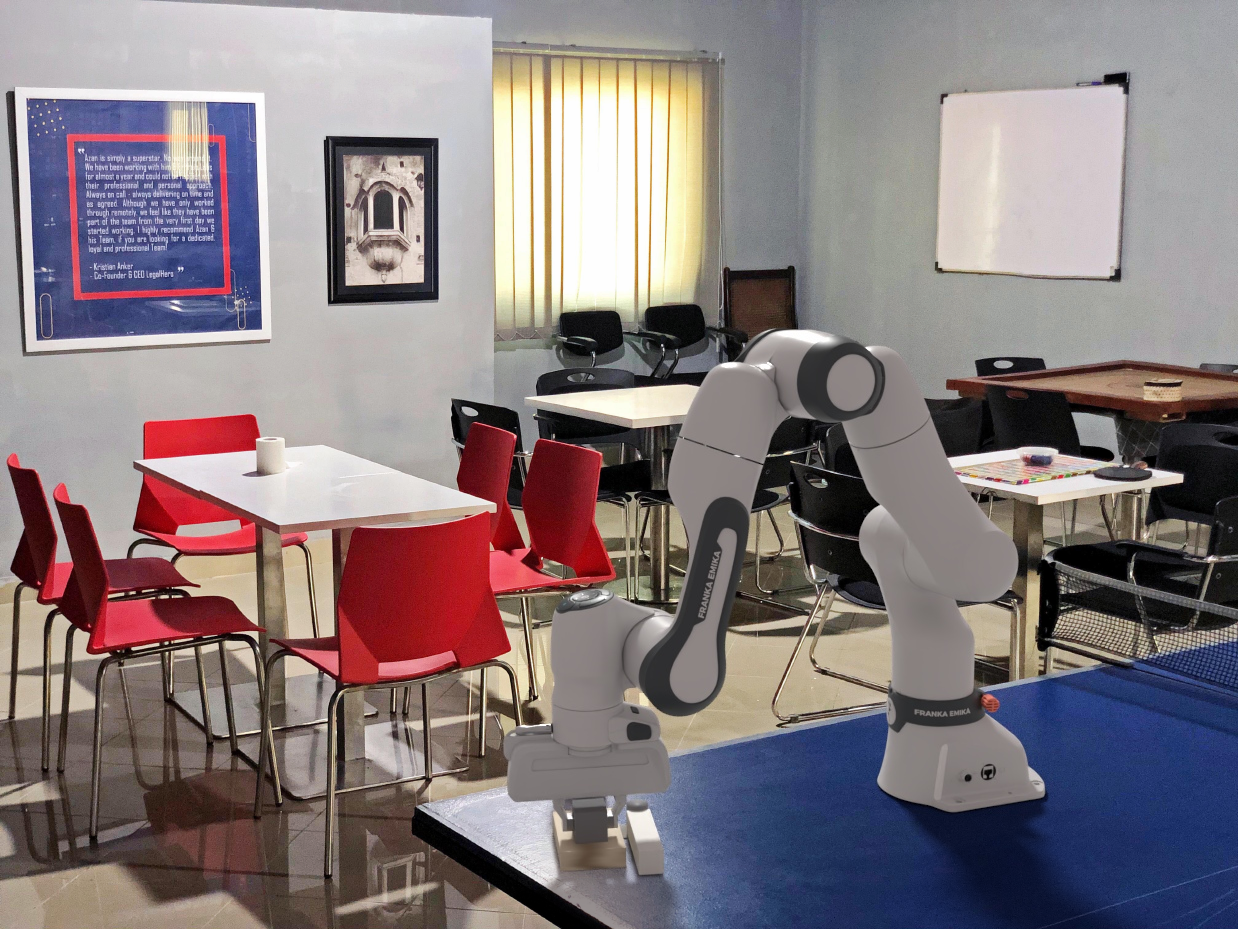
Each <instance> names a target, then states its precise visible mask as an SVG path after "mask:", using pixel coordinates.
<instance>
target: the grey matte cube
mask: <svg viewBox="0 0 1238 929" xmlns="http://www.w3.org/2000/svg"><path fill="white" fill-rule="evenodd" d="M607 808H608V807H607V805H606V802H605V799H604V797H595V798H580V799H571V810H572V813H573V816H574V831H573V835H574V839H575V844H583V843H597V842H608V818H607Z"/></svg>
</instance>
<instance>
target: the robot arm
mask: <svg viewBox="0 0 1238 929" xmlns="http://www.w3.org/2000/svg"><path fill="white" fill-rule="evenodd" d="M788 417H793V418H797V419H809V420H817V421H820V422H823V423H830V424H831V423H834V424H835V423H836V424H837V423H842V427H843V429H844V433H845V436H846V439H847V441H848V443H849V446H850V449H851V451H852V454H853V456H854V460H855V462H856V465H857V466H858V470H859V472H860V475H861V477H862V480H863V482H864V484H865V487H866V489H867V491H868V493H869V494H870V496H871V497H872V498H873V499H874V500H875V501H876V503H878V504H879V505H878V506H876V507H874V508H873V509H872V510H870V512H868V514H867V515H866V517H864V520H863V522H862V524H861V526H860V529H859V534H858V543H859V544H858V545H859V549H860V554H861V556H862V557H863V559H864V560H865V561H866V563H867V564H868V565H869V567H870V569H872V572H873V573H874V576H875V578H876V580H877V583H878V585H879V587H880V588H879V589H880V591H881V595H882V597H883V598H882V599H883V603H884V605H885V608H886V609H885V610H886V612H887V613H886V614H887V617H888V622H889V629H890V638H891V639H890V642H891V645H890V646H891V649H890V650H891V677H890V678H891V682H890V683H889V684H888V688H887V699H886V720H887V725H888V729H887V730H888V731H887V732H888V733H887V738H886V740H887V741H886V746H885V751H884V756H883V760H882V764H881V767H880V771H879V774H878V777H877V779H876V780H877V781H876V782H877V785H878V786H879V787H880V789H882V790H883V791H884V792H886V793H887V794H889V795H891V796H893V797H895V798H898V799H900V800H904V801H908V802H911V803H916V804H921V805H925V806H927V805H928V806H931V807H934V808H937V809H938V810H942V811H944V812H949V813H958V812H965V811H970V810H975V809H981V808H987V807H993V806H994V807H995V806H1001V805H1006V804H1013V803H1018V802H1025V801H1029V800H1030V801H1031V800H1036V799H1041V798H1044V797H1045V794H1046V788H1045V786H1046V785H1045V782H1044V780H1043V779H1042V777H1041V776H1040V775H1039V773H1037V772H1036V771H1035V770H1034V769H1033V768H1031V767H1030V766H1029V764H1028V763H1029V762H1028V758H1027V753H1026V750H1025V748H1024V746H1023V744H1022V742H1021V741H1020V739H1018V737H1017V736H1016V735H1015V734H1013V733H1012V732H1011V731H1009V729H1007V728H1006V727H1005V726H1003V725H1002V724H1001V723H1000V722H998V721H997V720H995V719H994V718H993V717H991V716H990V715H989V714H987V712H988V713H995V712H997V711H998V709H999V708H1000V705H1001V704H1000V701H999V700H998V699H997V698H996V697H994V696H993V694H991V693H989V694H988V693H986V692H985V691H984V690H983V689H981V688H979V687H977V686H975V684H974V683H975V682H974V680H975V649H976V647H975V646H976V641H975V639H976V638H975V635H974V632H973V629H972V627H971V626H970V624H969V622H968V621H967V620H966V618H965V617H964V616H963V614H962V613H961V610H960V609H959V607H958V604H957V601H960V602H961V601H964V602H977V603H978V602H980V603H981V602H983V603H984V602H987V603H988V602H993V601H995V600H997V599H999V598H1000V597H1002V596H1003V595H1004V594H1005V593H1006V592H1007V591H1009V589H1010V588H1011V586H1012V585H1013V583H1014V581H1015V579H1016V576H1017V573H1018V568H1019V555H1018V550H1017V547H1016V544H1015V542H1014V541H1013V539H1012V538H1011V537H1010V536H1009V535H1008V534H1007V533H1006V532H1005V531H1003V530H1002V529H1000V527H999V526H998V525H996V524H995V523H994V522H993V521H992V520H991V519H990V518H989V517H988V516H987V515H986V513H985V512H984V511H983V510H982V509H981V507H980V506H979V505H978V503H977V501H976V500H975V499H974V497H972V495H971V493H970V492H969V491H968V489H967V487H966V486H965V485H964V484H963V482H962V481H961V480H960V478H959V477H958V475H957V473H956V472H955V470H954V469H953V467H952V465H951V463H950V461H949V459H948V456H947V455H946V452H945V449H944V447H943V444H942V442H941V440H940V436H939V434H938V431H937V429H936V426H935V424H934V421H933V419H932V416H931V412H930V410H929V406H928V405H927V402H926V399H925V398H924V396H923V394H922V391H921V388H920V387H919V385H918V383H917V381H916V379H915V378H914V375H913V374H912V372H911V370H910V368H909V367H908V365H907V364H906V362H905V361H904V358H902V357H901V354H899V353H898V352H897V351H896V350H895V349H892V347H891V348H890V347H888V346H885V345H869V346H864V345H863V344H862V343H860V342H858V341H857V340H855V339H853V338H850V337H847V336H844V335H836V334H833V333H829V332H826V331H821V330H815V329H790V328H787V327H786V328H785V327H779V328H772V329H768V330H764V331H762V332H761V333H758V334H757V335H755V336H753V337H752V338H751V339H750V340H749V341H748V342H747V343H746V344H745V346H743V349H742V350H741V352H740V354H739V355H738V356H737V358H736V359H735V358H734V360H733V361H730V362H729V361H727V362H723V363H719V364H717V365H715V366H714V367H713V368H711V369H710V370H709V371H708V373H707V374H706V376H705V377H704V379H703V381H702V382H701V385H700V386H699V388H698V390H697V392H696V394H695V396H694V397H693V400H692V402H691V404H690V406H689V409H688V410H687V414H685V418H684V420H683V422H682V425H681V428H680V430H679V434H678V436H679V437H677V440H676V443H675V446H674V449H673V452H672V456H671V458H670V459H671V460H670V463H669V470H668V477H667V490H668V494H669V496H670V499H671V502H672V503H673V505H674V507H675V509H676V510H677V512H678V514H679V515H680V518H681V520H682V522H683V524H684V527H685V531H686V533H687V537H688V541H689V542H688V544H689V556H688V563H687V567H686V571H685V574H684V575H685V576H684V579H683V583H682V587H681V590H680V595H679V598H678V602H677V607H676V610H675V615H674V616H673V615H672V614H671V613H669V612H667V611H664V610H662V609H659V608H656V607H648V606H642V605H639V604H636V603H633V602H631V601H628V600H625V599H624V598H622V597H621V596H618V595H617V594H616V593H615V592H613V591H612V590H609V589H607V588H606V589H605V588H589V589H588V588H587V589H584V590H579V591H575V592H573V593H571V594H569V595H566V596H565V597H564V598H563V599H561V600H560V601H559V602H558V603H557V605H556V607H555V609H554V612H553V614H552V615H553V616H552V622H551V628H550V629H551V630H550V631H551V632H550V634H551V635H550V659H549V660H550V669H551V673H552V677H553V681H554V682H553V688H552V693H551V698H550V699H551V700H550V701H551V723H543V724H534V725H518V726H515V727H514V729H512V730H510V731H508V732H507V733H506V734H505V735H504V737H503V742H502V743H503V746H502V747H503V748H502V749H503V756H504V758H505V759H506V760H507V762H508V763H507V773H506V776H507V779H506V780H507V781H506V786H507V788H506V790H507V795H508V797H509V798H510V799H511V800H512V801H513V802H514V803H524V802H525V803H528V802H541V801H543V802H544V801H551V803H552V806H553V809H554V811H556V812H557V813H558V815H559V816H560V818H561V819H562V831H563V832H567V831H574V816H573V813H566V811H567V810H565V808H564V807H565V806H566V804H565V800H570V799H571V800H574V799H589V798H604V797H613V798H614V803H613V806H612V807H611V808H612V809H611V810H608V811H607V818H608V829H611V828H618V823H619V816H620V814H621V813H622V811H623V809H624V808H625V807H626V803H627V802H628V801H627V800H628V799H627V796H630V795H643V794H644V795H648V794H662V793H666V792H667V791H668V789H669V788H670V786H671V785H672V773H671V772H672V771H671V764H670V758H669V754H668V749H667V747H666V745H665V741H664V740H663V738H662V736H661V732H662V731H661V724H660V720H659V717H658V716H657V714H656V713H655V711H654V710H653V709H652V708H651V707H649V706H645V705H641V704H636V703H633V702H630V701H625V700H624V694H625V692H626V691H627V690H629V689H636V688H637V689H638V690H639V691H641V692H642V693H643V695H644V696H645V697H646V698H647V699H648V701H649V702H650V704H652V706H653V707H654V708H655V709H656V710H657V711H659V712H660V713H662V714H665V715H667V716H669V717H677V718H678V717H680V718H681V717H688V716H692V715H695V714H698V713H699V712H702V711H703V710H704V709H706V708H707V707H708V706H710V705H712V703H713V702H714V701H715V700H716V699H717V697H718V696H719V695H720V692H721V690H722V688H723V687H724V683H725V680H726V676H727V675H726V674H727V655H726V654H727V652H726V639H727V631H728V627H729V622H730V618H731V614H732V610H733V607H734V602H735V598H736V594H737V590H738V586H739V582H740V578H741V574H742V569H743V566H744V560H745V556H746V552H747V547H748V540H749V532H750V525H751V524H750V523H751V522H750V521H751V513H752V506H753V502H754V499H755V495H756V490H757V487H758V483H759V480H760V478H761V477H760V476H761V473H762V470H763V468H764V464H765V461H766V458H767V455H768V451H769V448H770V444H771V440H772V437H773V436H774V433H775V432H776V430H777V428H779V426H780V425H781V423H782V422H783V421H785V419H787V418H788ZM759 463H760V464H759ZM762 464H763V465H762ZM986 711H987V712H986Z"/></svg>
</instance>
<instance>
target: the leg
mask: <svg viewBox="0 0 1238 929" xmlns="http://www.w3.org/2000/svg"><path fill="white" fill-rule="evenodd" d="M625 807H626V809H625V810H626V811H625V812H626V813H625V814H626V815H625V816H626V824H627V834H628V838H627V839H628V841H629V845H630V849H631V851H632V855H633V859H634V862H635V865H636V869H637V872H638V875H639V876H644V875H645V876H647V875H658V874H665V857H664V856H665V855H664V854H665V852H664V851H665V849H664V846H663V844H662V841H661V839H660V834H659V832H658V829H657V826H656V824H655V821H654V817H653V815H652V811H651V809H650V808H649V802H648V801H647V800H645V799H640V798H636V799H635V798H634V799H630V800H628V801H627V803H626V805H625Z"/></svg>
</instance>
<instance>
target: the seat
mask: <svg viewBox="0 0 1238 929" xmlns="http://www.w3.org/2000/svg"><path fill="white" fill-rule="evenodd" d="M606 808H607V811H608V810H611V809H612V807H606ZM565 811H566V813H572V809H571V810H569V809H568V810H565ZM552 831H553V836H554V841H555V847H557V848H556V851H557V857H558V862H559V867H560V871H563V872H573V871H589V870H602V869H617V868H618V869H619V868H626V867H627V846H626V843H625V839H629V838H628V834H627V823H626V824H625V823H623V824H620V823H619V822H618V828H611V829H608V842H597V843H583V844H575V839H574V835H573V831H567V832H563V831H562V819H561V818H560V816H559V815H558V813H557V812H556V810H554V811H552Z"/></svg>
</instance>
